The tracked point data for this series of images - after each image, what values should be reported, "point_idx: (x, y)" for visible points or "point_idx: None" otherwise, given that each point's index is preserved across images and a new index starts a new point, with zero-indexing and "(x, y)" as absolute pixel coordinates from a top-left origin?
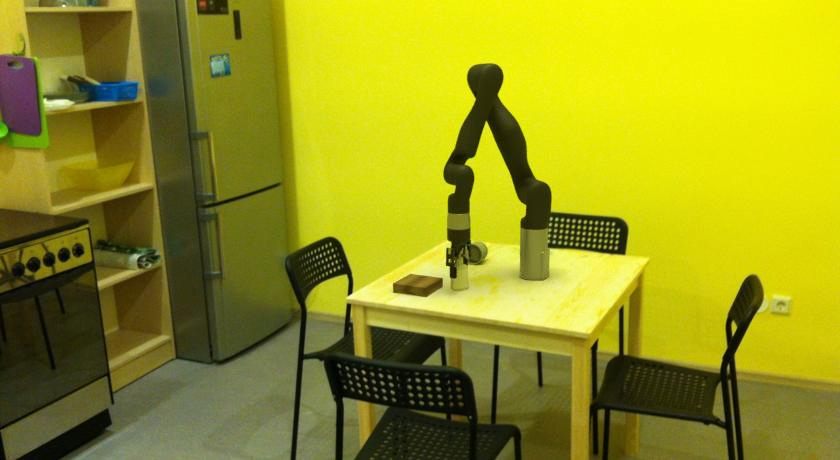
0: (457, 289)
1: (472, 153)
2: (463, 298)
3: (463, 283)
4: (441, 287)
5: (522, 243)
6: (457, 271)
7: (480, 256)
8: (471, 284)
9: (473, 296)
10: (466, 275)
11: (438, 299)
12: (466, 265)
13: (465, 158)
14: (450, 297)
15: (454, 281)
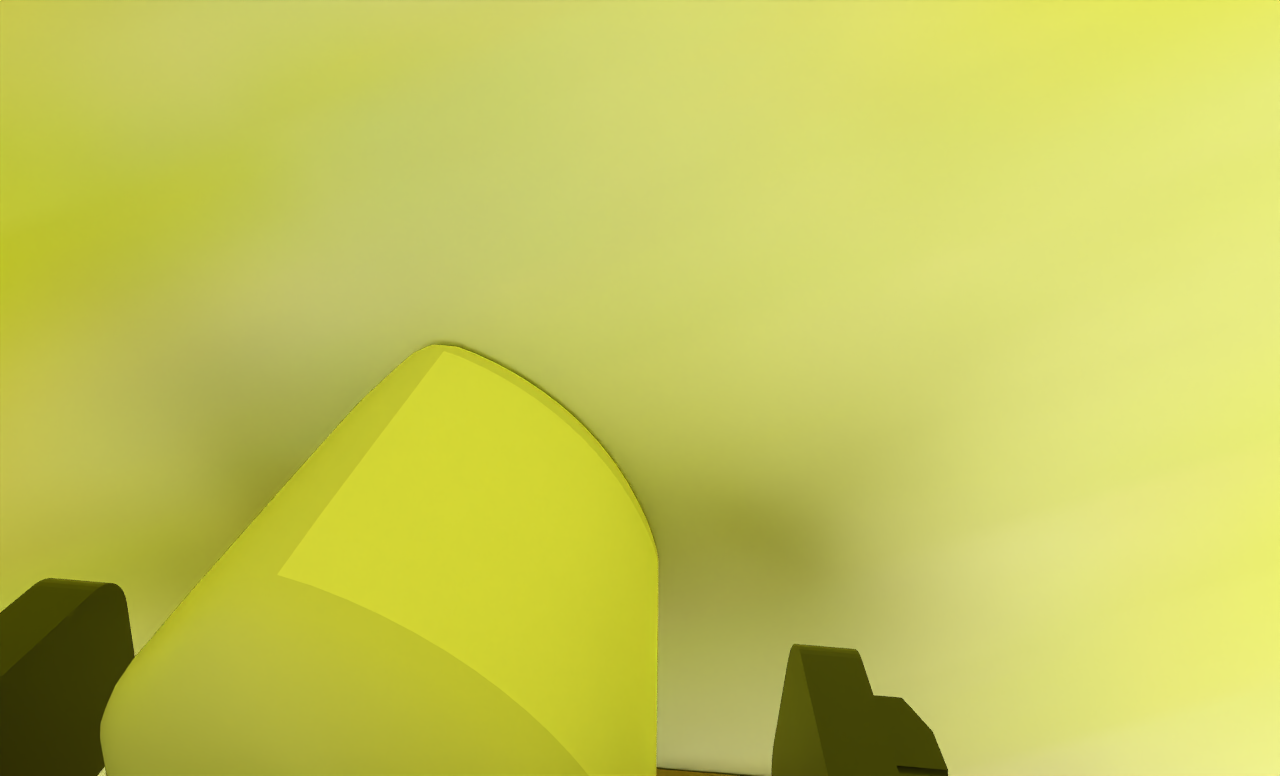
0: (629, 493)
1: None
2: (1078, 216)
3: (534, 450)
4: None
5: None
6: (608, 766)
7: None
8: (142, 372)
9: (897, 55)
10: (416, 485)
11: (1210, 611)
12: (215, 694)
13: None
14: (1059, 467)
15: (654, 637)
